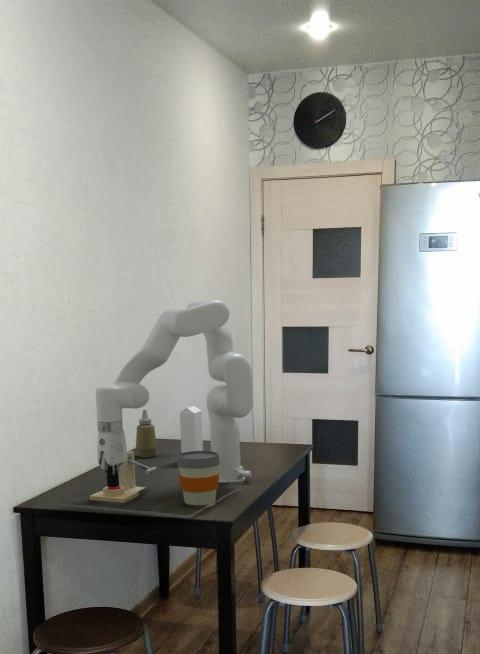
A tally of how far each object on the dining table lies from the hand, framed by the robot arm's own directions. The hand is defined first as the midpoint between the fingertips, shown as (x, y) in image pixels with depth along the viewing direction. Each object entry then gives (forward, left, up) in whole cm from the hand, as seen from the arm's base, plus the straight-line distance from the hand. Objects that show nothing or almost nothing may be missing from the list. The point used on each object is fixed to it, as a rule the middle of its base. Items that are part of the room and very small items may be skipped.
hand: (113, 486), depth 258 cm
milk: (+2, -57, -5) cm, 57 cm away
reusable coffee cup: (-27, -4, -5) cm, 28 cm away
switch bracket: (+2, -10, -5) cm, 11 cm away
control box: (0, 0, -5) cm, 5 cm away
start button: (0, 0, -2) cm, 2 cm away
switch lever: (-2, -10, +4) cm, 11 cm away
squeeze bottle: (+24, -62, -5) cm, 67 cm away
